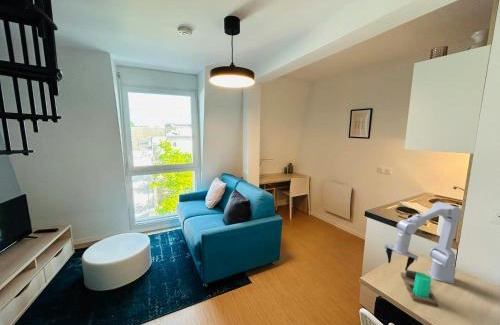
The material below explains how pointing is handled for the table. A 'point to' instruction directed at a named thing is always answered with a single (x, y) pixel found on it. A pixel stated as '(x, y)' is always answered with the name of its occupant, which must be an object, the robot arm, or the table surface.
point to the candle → (422, 285)
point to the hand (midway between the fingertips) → (397, 265)
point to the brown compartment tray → (409, 282)
